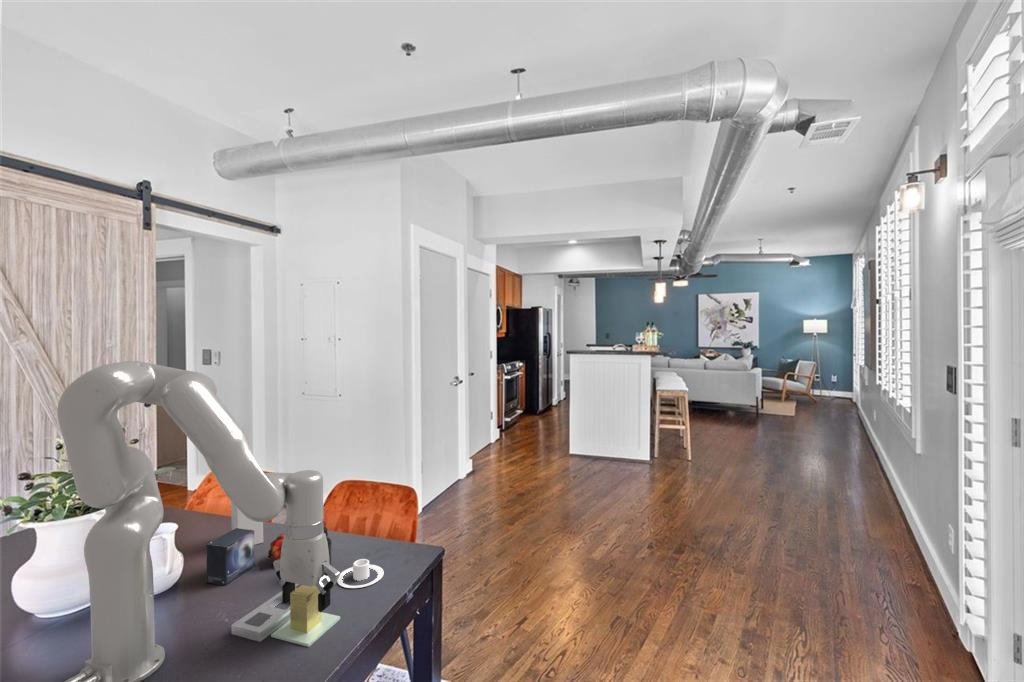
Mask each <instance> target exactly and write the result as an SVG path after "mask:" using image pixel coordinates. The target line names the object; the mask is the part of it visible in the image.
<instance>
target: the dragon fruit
mask: <svg viewBox="0 0 1024 682" xmlns="http://www.w3.org/2000/svg"><path fill="white" fill-rule="evenodd" d="M285 534H287V530H286V533H283V534H282V533H280V534H278V536H277V537H276V539H274V540H272V542H270V544H269V545H270V548H269V550H268V552H267V558H268V559H269V560H273V561H272V564H273V563H274V562H275V561H277V560H279V559H280V558H281V548H282V542H283V538H284V535H285Z"/></svg>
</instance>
